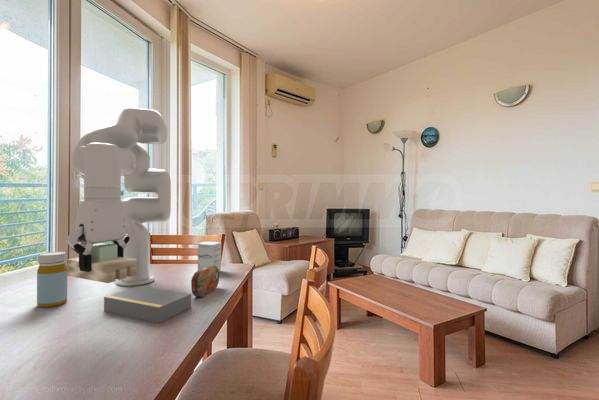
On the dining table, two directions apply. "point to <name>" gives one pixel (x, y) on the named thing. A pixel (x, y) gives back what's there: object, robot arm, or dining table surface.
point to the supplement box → (209, 255)
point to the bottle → (52, 279)
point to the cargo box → (103, 252)
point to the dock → (147, 303)
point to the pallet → (104, 269)
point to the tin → (205, 281)
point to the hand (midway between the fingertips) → (102, 266)
